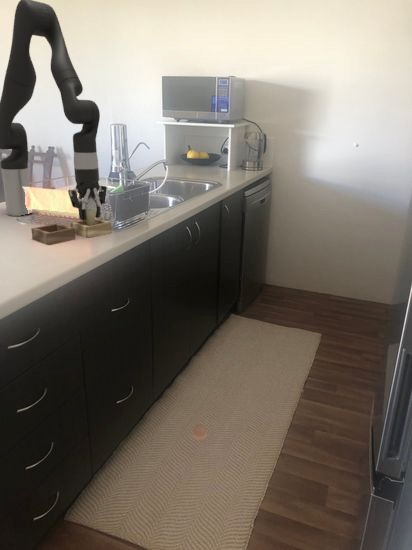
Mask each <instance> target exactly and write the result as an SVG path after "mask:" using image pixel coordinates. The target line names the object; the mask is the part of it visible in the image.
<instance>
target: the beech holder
mask: <svg viewBox="0 0 412 550" xmlns="http://www.w3.org/2000/svg"><path fill="white" fill-rule="evenodd" d="M70 227H72V228H75V235H77V236H81V237H83V238H86V239H90V238H94V237H99V236H102V235H106V234H107V235H108V234H111V233H112V223H111V222H109V221H106V220H104V219H103V220H102V219H99V218H95V221H94V225H92V226H88V224H87V222H86V220H84V221H83V220H81V219H80V220H77V221H71V222H70Z"/></svg>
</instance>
